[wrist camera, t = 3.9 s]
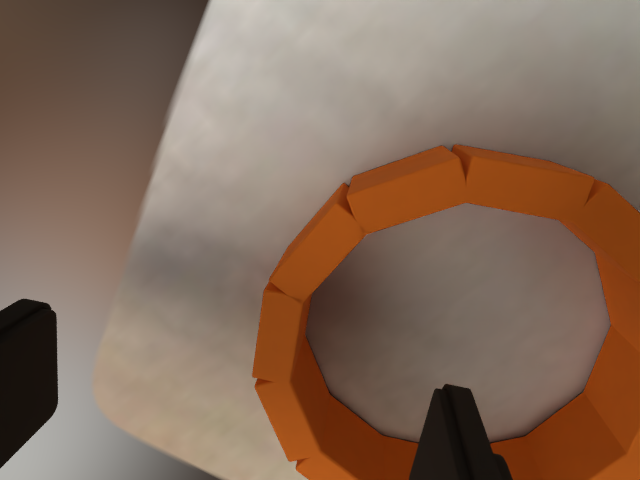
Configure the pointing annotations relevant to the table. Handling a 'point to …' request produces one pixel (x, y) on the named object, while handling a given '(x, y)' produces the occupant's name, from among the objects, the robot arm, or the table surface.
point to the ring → (417, 201)
